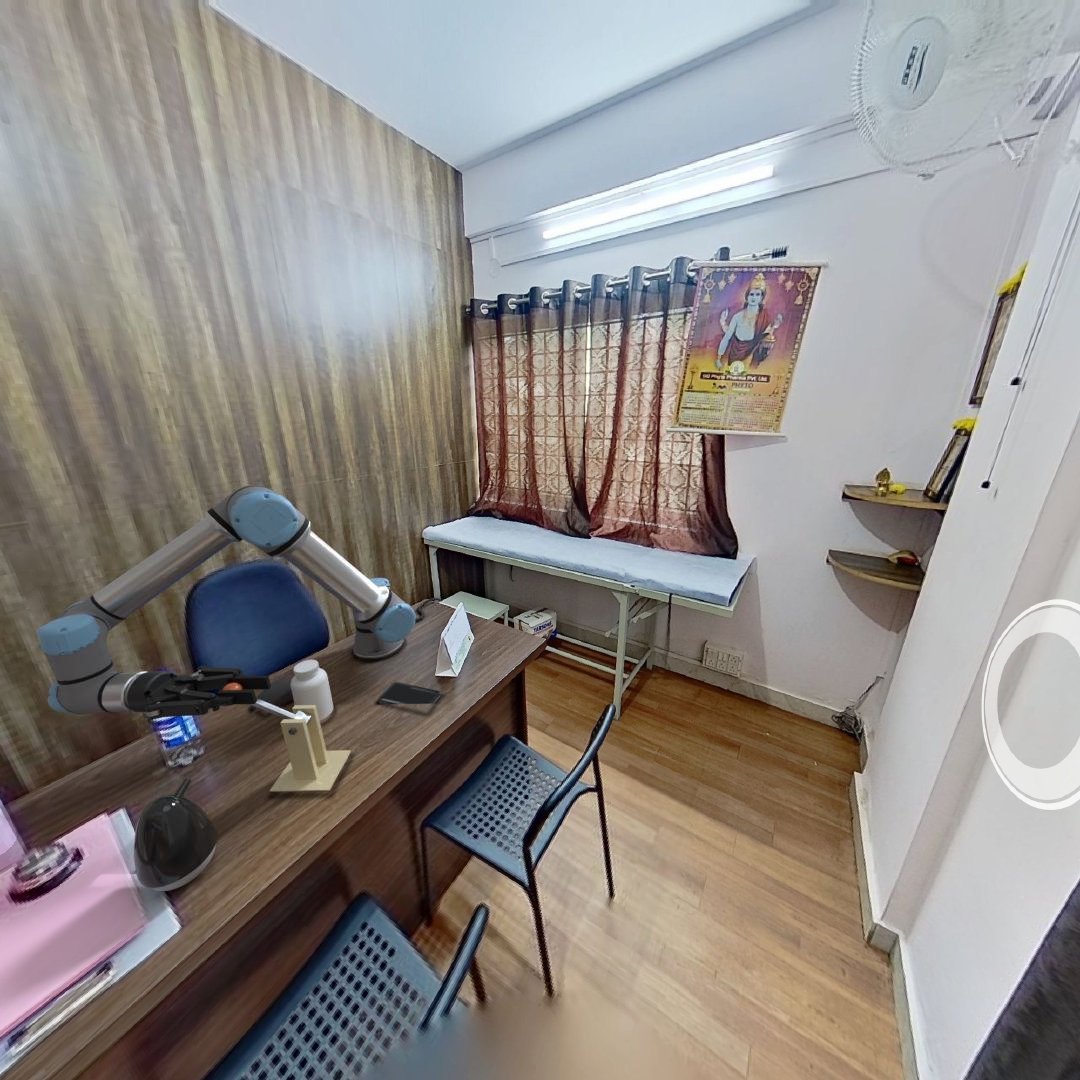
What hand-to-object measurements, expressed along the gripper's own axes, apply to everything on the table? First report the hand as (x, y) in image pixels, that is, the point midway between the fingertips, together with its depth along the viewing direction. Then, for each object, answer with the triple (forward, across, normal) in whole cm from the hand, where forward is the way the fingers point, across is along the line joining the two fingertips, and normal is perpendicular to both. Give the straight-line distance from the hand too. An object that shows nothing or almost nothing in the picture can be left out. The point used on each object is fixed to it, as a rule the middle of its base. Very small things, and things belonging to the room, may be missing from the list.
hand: (261, 689), depth 81 cm
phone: (+20, -23, -22) cm, 38 cm away
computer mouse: (-15, -25, -22) cm, 37 cm away
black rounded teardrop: (-6, +19, -22) cm, 29 cm away
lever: (-1, 0, -6) cm, 6 cm away
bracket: (+6, 0, -22) cm, 23 cm away
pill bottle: (-2, -18, -22) cm, 28 cm away
